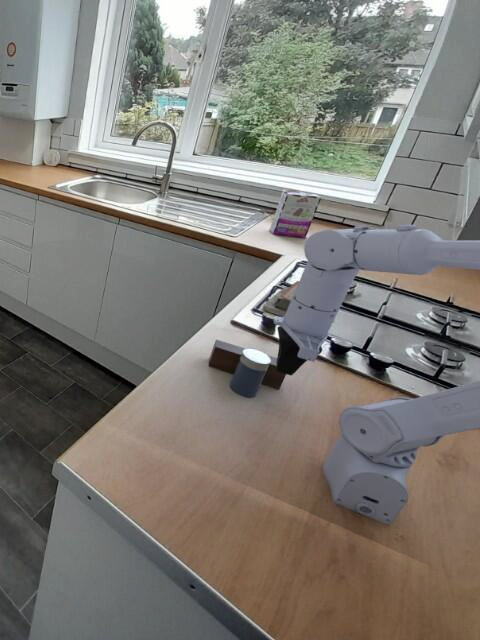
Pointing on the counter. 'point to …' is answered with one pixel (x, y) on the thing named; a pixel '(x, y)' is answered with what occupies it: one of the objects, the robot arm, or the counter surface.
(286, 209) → the candy bar box
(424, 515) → the counter surface
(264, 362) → the blue lidded container
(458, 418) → the robot arm
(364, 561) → the counter surface
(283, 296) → the packaged product
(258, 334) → the counter surface
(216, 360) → the pale-topped brown beam
